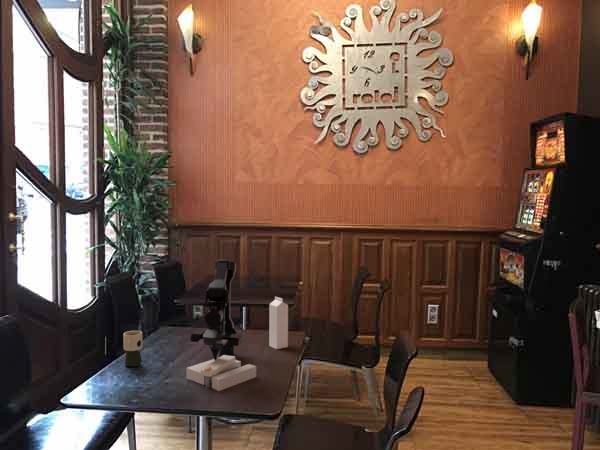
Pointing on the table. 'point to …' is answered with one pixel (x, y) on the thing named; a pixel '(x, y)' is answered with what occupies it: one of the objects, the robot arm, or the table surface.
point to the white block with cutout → (222, 375)
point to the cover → (217, 365)
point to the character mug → (132, 347)
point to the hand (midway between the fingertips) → (215, 360)
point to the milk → (278, 324)
